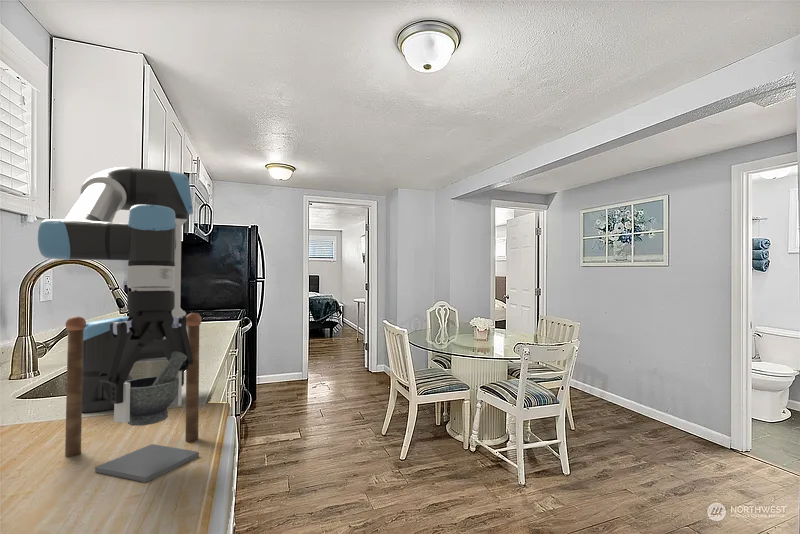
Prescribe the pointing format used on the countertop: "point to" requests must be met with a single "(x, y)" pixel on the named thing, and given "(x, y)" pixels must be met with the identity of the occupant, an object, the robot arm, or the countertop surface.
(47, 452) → the countertop surface
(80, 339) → the post
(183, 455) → the slate pad
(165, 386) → the mortar and pestle
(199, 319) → the post
